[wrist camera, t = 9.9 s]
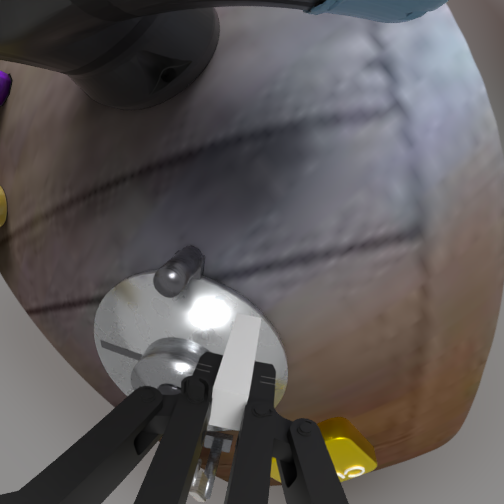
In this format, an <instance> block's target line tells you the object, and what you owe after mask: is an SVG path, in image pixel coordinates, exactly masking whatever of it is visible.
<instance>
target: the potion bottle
mask: <svg viewBox="0 0 504 504" xmlns="http://www.w3.org/2000/svg"><path fill="white" fill-rule="evenodd" d="M11 85H12V78H11V75H10V74H6V73H4V72H2V71H0V106H3V105H4V103H5V101H6V99H7V98H8V96H9V94H10V90H11Z"/></svg>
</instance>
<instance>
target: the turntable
mask: <svg viewBox="0 0 504 504" xmlns="http://www.w3.org/2000/svg"><path fill="white" fill-rule="evenodd" d="M204 259H205V255H202V253H201V251H200V250H199V249H198V248H196V247H194V246H186V247H184V248H183V249H182V250H179V251H177V252H176V253H175V256H174V257H172V258H171V259H170V260H169V261H168V262H167V263H166V264H165V265H163V266H162V267H161V268H160V269H159V270H151V271H145V272H142V273H138V274H135V275H133V276H131V277H128V278H126V279H124V280H123V281H122V282H120V283H119V284H117V285H116V286H115V287H114V288H112V289H111V290H110V291H109V292H108V293H107V294H106V295H105V297H104V298H103V300H102V301H101V303H100V305H99V307H98V309H97V312H96V316H95V321H94V338H95V344H96V348H97V352H98V354H99V357H100V360H101V362H102V364H103V366H104V368H105V370H106V371H107V373H108V374H109V376H110V377H111V379H112V380H113V381H114V383H115V384H116V385H117V386H118V387H119V388H120V389H121V391H122V392H123V393H124V394H125V395H126V396H129V395H130V394H131V393H132V392H133V391H134V390H133V388H132V385H131V372H132V370H133V368H134V367H135V365H136V364H137V362H138V361H139V360H140V358H141V357H142V355H143V354H144V352H145V351H146V349H147V348H148V347H149V345H150V344H151V343H153V342H154V341H156V340H158V339H162V338H167V337H176V338H183V339H187V340H190V341H193V342H195V343H197V344H199V345H201V346H203V347H204V348H206V349H207V350H209V351H210V352H212V353H216V354H220V355H224V352H225V349H226V346H227V343H228V340H229V337H230V333H231V330H232V327H233V324H234V321H235V318H236V315H237V313H239V314H244V315H249V316H254V317H259V318H261V324H260V331H259V337H258V343H257V350H256V356H255V361H257V362H263V363H268V364H273V366H274V368H275V370H276V381H275V397H274V408H275V407H276V406H277V405H278V403H279V402H280V400H281V399H282V396H283V394H284V392H285V389H286V385H287V378H288V362H287V355H286V351H285V348H284V345H283V342H282V340H281V338H280V336H279V334H278V332H277V331H276V329H275V328H274V326H273V325H272V323H271V322H270V321H269V319H268V318H267V317H266V316H265V315H264V314H263V313H262V312H261V310H260V309H258V308H257V307H256V306H255V305H254V304H253V303H252V302H250V301H249V300H248V299H247V298H245V297H244V296H242V295H241V294H239V293H238V292H237V291H235V290H233V289H231V288H230V287H228V286H226V285H224V284H222V283H220V282H218V281H215V280H213V279H210V278H208V277H206V276H203V268H204ZM226 430H232V429H227V428H222V427H218V426H213V425H209V423H208V426H207V431H226Z"/></svg>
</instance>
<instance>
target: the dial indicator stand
mask: <svg viewBox="0 0 504 504" xmlns="http://www.w3.org/2000/svg"><path fill="white" fill-rule="evenodd" d="M232 439H233V436H232V435H228V434H223V433H218V432H214V431H207V433H206V437H205V442H204V447H206V448H210V449H211V450H210V453H209V457H208V461H207V464H206V468H205V472H203V471H199V470H200V467H201V463H202V460H201V459H199V460H198V464H197V467H196V470H195V474H194V477H193V480H192V484H191V487H190V490H189V494H191V496H192V497H193V498H194V499H195V500H196V501H199V502H206V499H210V496H211V492H212V488H213V483H214V480H215V475H216V471H217V467H218V463H219V459H220V455H221V451H224V452H229V451H230V447H231V443H232Z"/></svg>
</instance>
